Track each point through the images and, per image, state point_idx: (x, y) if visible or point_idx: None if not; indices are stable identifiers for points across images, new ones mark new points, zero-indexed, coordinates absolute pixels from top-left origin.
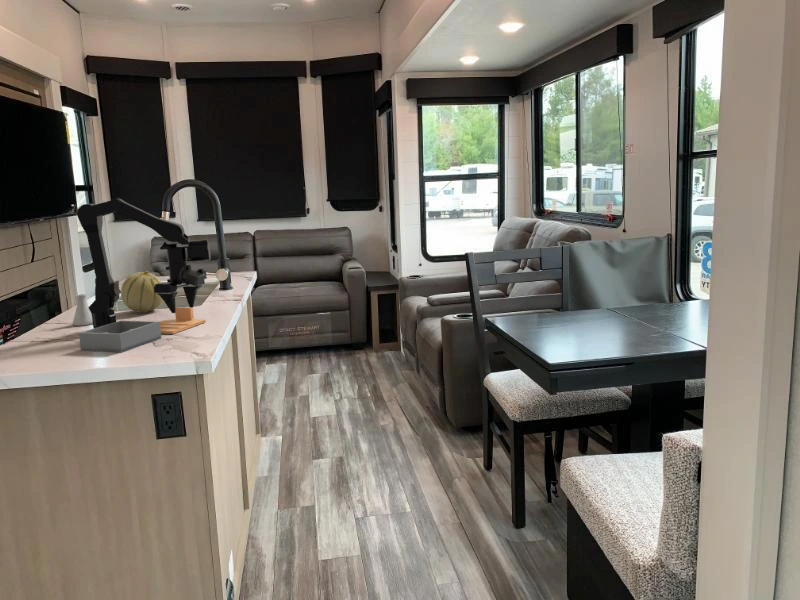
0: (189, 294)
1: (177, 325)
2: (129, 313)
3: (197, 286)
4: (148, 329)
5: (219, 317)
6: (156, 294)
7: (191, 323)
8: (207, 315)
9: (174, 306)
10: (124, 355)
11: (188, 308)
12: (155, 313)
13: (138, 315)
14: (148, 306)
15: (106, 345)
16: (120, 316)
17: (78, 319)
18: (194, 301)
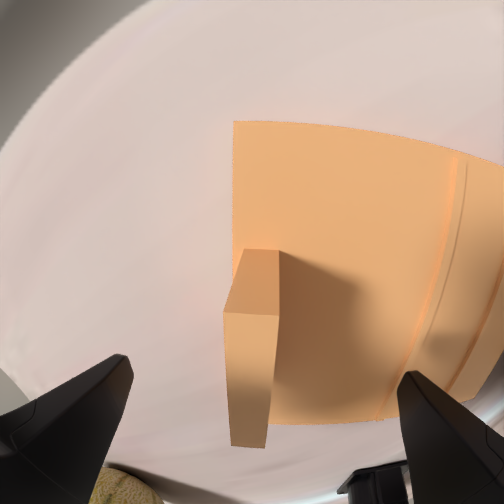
0: (68, 469)
1: (460, 251)
2: (158, 491)
3: None
4: None
5: (66, 150)
6: (99, 502)
7: (408, 169)
8: (50, 277)
9: (455, 407)
10: None
11: (275, 338)
12: (128, 461)
13: (168, 483)
14: (135, 488)
15: None
16: (194, 499)
17: None
18: (72, 378)
